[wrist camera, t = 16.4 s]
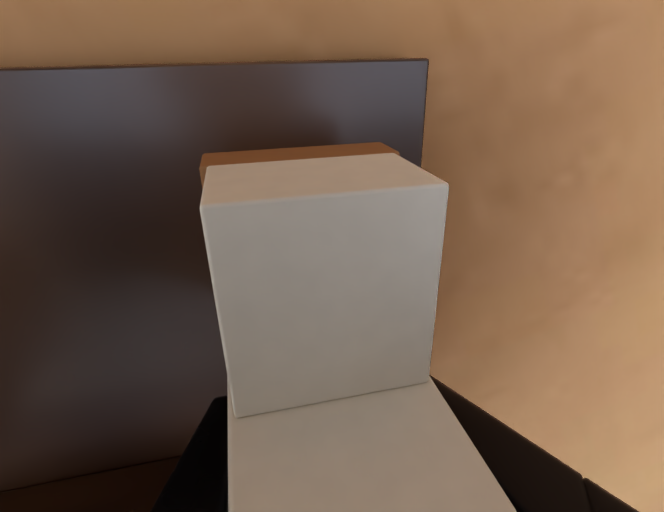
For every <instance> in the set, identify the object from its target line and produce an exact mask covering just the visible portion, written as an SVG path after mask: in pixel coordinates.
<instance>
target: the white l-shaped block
mask: <svg viewBox="0 0 664 512" xmlns="http://www.w3.org/2000/svg"><path fill="white" fill-rule="evenodd" d="M199 171H200V177H201V183H202V189H203V191H202V197H201V203H200V215H201V220H202V226H203V232H204V238H205V244H206V250H207V256H208V262H209V268H210V274H211V280H212V286H213V292H214V298H215V304H216V310H217V316H218V322H219V328H220V334H221V340H222V346H223V352H224V358H225V364H226V370H227V392H228V512H517V511H516V510H515V508H514V506H513V505H512V503H511V502H510V500H509V499H508V497H507V496H506V494H505V492H504V491H503V489H502V488H501V486H500V485H499V483H498V482H497V480H496V478H495V477H494V475H493V474H492V472H491V471H490V469H489V468H488V466H487V465H486V463H485V461H484V460H483V458H482V457H481V455H480V454H479V452H478V451H477V449H476V447H475V446H474V444H473V443H472V441H471V440H470V438H469V437H468V435H467V433H466V432H465V430H464V429H463V427H462V426H461V424H460V423H459V421H458V419H457V418H456V416H455V415H454V413H453V412H452V410H451V409H450V407H449V406H448V404H447V402H446V401H445V399H444V398H443V396H442V395H441V393H440V392H439V390H438V388H437V387H436V385H435V384H434V382H433V381H432V379H431V378H430V376H429V372H430V363H431V353H432V344H433V334H434V325H435V315H436V306H437V296H438V287H439V277H440V268H441V258H442V249H443V240H444V230H445V221H446V211H447V202H448V192H449V184H448V183H447V182H445V181H443V180H441V179H440V178H438V177H436V176H434V175H432V174H431V173H429V172H427V171H425V170H423V169H422V168H420V167H418V166H416V165H415V164H413V163H411V162H409V161H407V160H406V159H404V158H402V157H400V154H399V152H398V151H396V150H394V149H393V148H391V147H389V146H387V145H385V144H383V143H381V142H371V143H356V144H341V145H325V146H310V147H295V148H279V149H264V150H249V151H233V152H218V153H205V154H203V155H202V159H201V163H200V167H199Z"/></svg>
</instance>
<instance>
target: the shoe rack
mask: <svg viewBox="0 0 664 512" xmlns="http://www.w3.org/2000/svg"><path fill="white" fill-rule="evenodd" d="M428 65H429V60H428V59H427V58H395V59H351V60H308V61H264V62H220V63H177V64H133V65H90V66H46V67H3V68H0V512H150V511H151V509H152V507H153V506H154V504H155V502H156V500H157V498H158V497H159V495H160V493H161V491H162V490H163V488H164V486H165V484H166V482H167V481H168V479H169V477H170V475H171V473H172V472H173V470H174V468H175V466H176V465H177V463H178V461H179V459H180V457H181V456H182V454H183V452H184V450H185V449H186V447H187V445H188V443H189V441H190V440H191V438H192V436H193V434H194V432H195V431H196V429H197V427H198V425H199V424H200V422H201V420H202V418H203V416H204V415H205V413H206V411H207V409H208V408H209V406H210V404H211V402H212V401H213V399H214V398H216V397H220V396H225V395H228V392H227V370H226V364H225V358H224V352H223V346H222V340H221V334H220V328H219V322H218V316H217V310H216V304H215V298H214V292H213V286H212V280H211V274H210V268H209V262H208V256H207V250H206V244H205V238H204V232H203V226H202V220H201V215H200V203H201V197H202V191H203V189H202V183H201V177H200V171H199V167H200V163H201V159H202V155H203V154H205V153H218V152H233V151H249V150H264V149H279V148H295V147H310V146H325V145H341V144H356V143H371V142H381V143H383V144H385V145H387V146H389V147H391V148H393V149H394V150H396V151H398V152H399V154H400V157H402V158H404V159H406V160H407V161H409V162H411V163H413V164H415V165H416V166H418V167H420V168H421V158H422V145H423V131H424V118H425V105H426V91H427V78H428Z"/></svg>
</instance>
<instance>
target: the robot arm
mask: <svg viewBox="0 0 664 512" xmlns="http://www.w3.org/2000/svg"><path fill="white" fill-rule="evenodd" d="M429 376H430V378H431V379H432V381H433V382H434V384H435V385H436V387H437V388H438V390H439V392H440V393H441V395H442V396H443V398H444V399H445V401H446V402H447V404H448V406H449V407H450V409H451V410H452V412H453V413H454V415H455V416H456V418H457V419H458V421H459V423H460V424H461V426H462V427H463V429H464V430H465V432H466V433H467V435H468V437H469V438H470V440H471V441H472V443H473V444H474V446H475V447H476V449H477V451H478V452H479V454H480V455H481V457H482V458H483V460H484V461H485V463H486V465H487V466H488V468H489V469H490V471H491V472H492V474H493V475H494V477H495V478H496V480H497V482H498V483H499V485H500V486H501V488H502V489H503V491H504V492H505V494H506V496H507V497H508V499H509V500H510V502H511V503H512V505H513V506H514V508H515V510H516V511H517V512H639V511H637V510H636V509H634V508H633V507H631V506H629V505H628V504H626V503H625V502H623V501H621V500H620V499H618V498H617V497H615V496H614V495H612V494H610V493H609V492H607V491H606V490H604V489H603V488H601V487H600V486H598V485H597V484H595V483H594V482H592V481H591V480H589V479H587V478H583V477H582V475H581V474H580V473H578V472H577V471H575V470H574V469H572V468H571V467H569V466H567V465H566V464H564V463H563V462H561V461H560V460H558V459H557V458H555V457H554V456H552V455H551V454H549V453H548V452H546V451H545V450H543V449H542V448H540V447H539V446H537V445H536V444H534V443H533V442H531V441H529V440H528V439H526V438H525V437H523V436H522V435H520V434H519V433H517V432H516V431H514V430H513V429H511V428H510V427H508V426H507V425H505V424H504V423H502V422H501V421H499V420H498V419H496V418H494V417H493V416H491V415H490V414H488V413H487V412H485V411H484V410H482V409H481V408H479V407H478V406H476V405H475V404H473V403H472V402H470V401H469V400H467V399H466V398H464V397H463V396H461V395H460V394H458V393H456V392H455V391H453V390H452V389H450V388H449V387H447V386H446V385H444V384H443V383H441V382H440V381H438V380H437V379H435V378H434V377H432V376H431V375H429ZM150 512H228V395H225V396H220V397H216V398H214V399H213V401H212V402H211V404H210V406H209V408H208V409H207V411H206V413H205V415H204V416H203V418H202V420H201V422H200V424H199V425H198V427H197V429H196V431H195V432H194V434H193V436H192V438H191V440H190V441H189V443H188V445H187V447H186V449H185V450H184V452H183V454H182V456H181V457H180V459H179V461H178V463H177V465H176V466H175V468H174V470H173V472H172V473H171V475H170V477H169V479H168V481H167V482H166V484H165V486H164V488H163V490H162V491H161V493H160V495H159V497H158V498H157V500H156V502H155V504H154V506H153V507H152V509H151V511H150Z"/></svg>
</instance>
